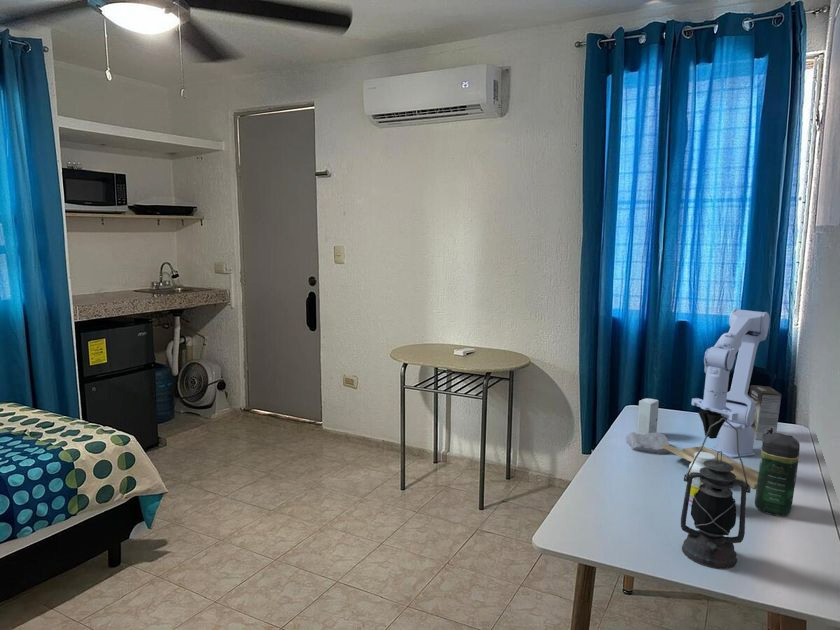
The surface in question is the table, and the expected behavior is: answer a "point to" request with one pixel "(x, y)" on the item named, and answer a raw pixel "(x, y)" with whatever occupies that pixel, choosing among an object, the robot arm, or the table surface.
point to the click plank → (683, 454)
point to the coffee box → (765, 410)
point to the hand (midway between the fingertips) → (710, 437)
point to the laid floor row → (738, 470)
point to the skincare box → (647, 416)
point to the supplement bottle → (695, 468)
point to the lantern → (714, 513)
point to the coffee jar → (777, 474)
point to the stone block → (648, 442)
